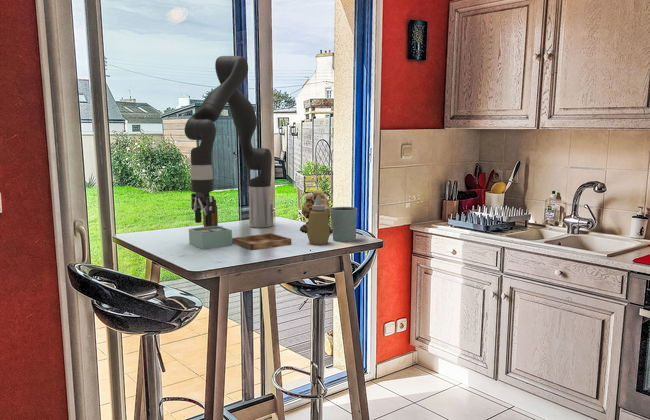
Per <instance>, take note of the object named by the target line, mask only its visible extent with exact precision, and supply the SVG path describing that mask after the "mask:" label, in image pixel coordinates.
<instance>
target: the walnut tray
mask: <svg viewBox="0 0 650 420" xmlns="http://www.w3.org/2000/svg"><path fill="white" fill-rule="evenodd" d="M232 245H236V246H238V247H241V248H244V249H246V250H250V251H256V250H257V251H258V250H262V249H270V248H276V247H284V246H290V245H291V246H292V238H290V237H286V236H282V235H279V234H275V233H271V232H269V233H268V232H267V233H261V234H253V235H245V236H239V237H232Z"/></svg>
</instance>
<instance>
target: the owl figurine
mask: <svg viewBox="0 0 650 420" xmlns="http://www.w3.org/2000/svg"><path fill="white" fill-rule="evenodd" d="M317 195H320V197H321V202H322V205H325V210H324V211H326V212H328V221H330V217H331V212H330V204H329V202H330V201H329V199H328V198H327V196H326V195H325V193H324V192H323V191H321V190H320V189H315V190H313V191H312V193H308V194H306V195H305V196H304V199H305V201H304V202H303V205H302V209H301V214H302V215H303V217H304V218H305V219H307V220H308V221H307V222H305V224H303V225H302V226H300V228H299V231H300V232H301V233H303V234H306V233H307V232H308V222H309V213H310V212H311V211H313V210H312V205H315V201H316V196H317ZM329 231H330V235H332V232H333V231H332V227H330V226H329Z"/></svg>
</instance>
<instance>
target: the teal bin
mask: <svg viewBox="0 0 650 420" xmlns="http://www.w3.org/2000/svg"><path fill="white" fill-rule="evenodd" d="M220 226H221V225H218V226H211V227H203V226H202V227H194V228H192V227H191V228H189V229H188V242H189V245H191V246H194V247H195V248H199V249H200V250H206V249H214V248H221V247H223V248H224V247H228V246H230V247H231V246H233V244H232V238H233V232H232V231H233V230H232V229H230V228H226V227H224V226H223V227H220ZM219 228H220V229H223V230H224V231H216V232H208V233H201V232H198V231H201V230H208V231H209V230H210V229H219Z"/></svg>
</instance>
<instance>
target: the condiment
mask: <svg viewBox="0 0 650 420" xmlns="http://www.w3.org/2000/svg"><path fill="white" fill-rule="evenodd" d="M214 204H215V213H214V214H212V225H211V226H220V227H224V225H219V222H218V221H219V220H218V219H219V218H218V205H217V199H215V198H214ZM211 209H212V208H211ZM202 225H203V226H204V227H211V226H205V213H204V210H202ZM203 226H202V227H203Z"/></svg>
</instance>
